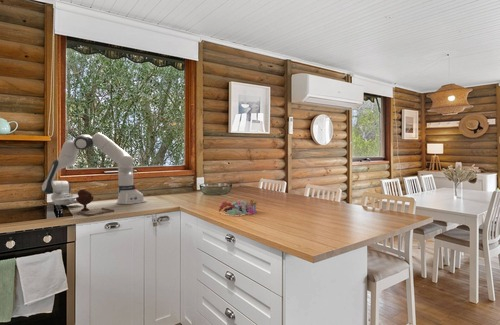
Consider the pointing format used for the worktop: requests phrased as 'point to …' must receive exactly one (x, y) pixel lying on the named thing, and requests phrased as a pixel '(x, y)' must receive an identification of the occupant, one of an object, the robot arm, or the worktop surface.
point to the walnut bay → (97, 213)
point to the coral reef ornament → (239, 207)
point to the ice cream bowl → (84, 199)
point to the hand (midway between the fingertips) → (75, 201)
